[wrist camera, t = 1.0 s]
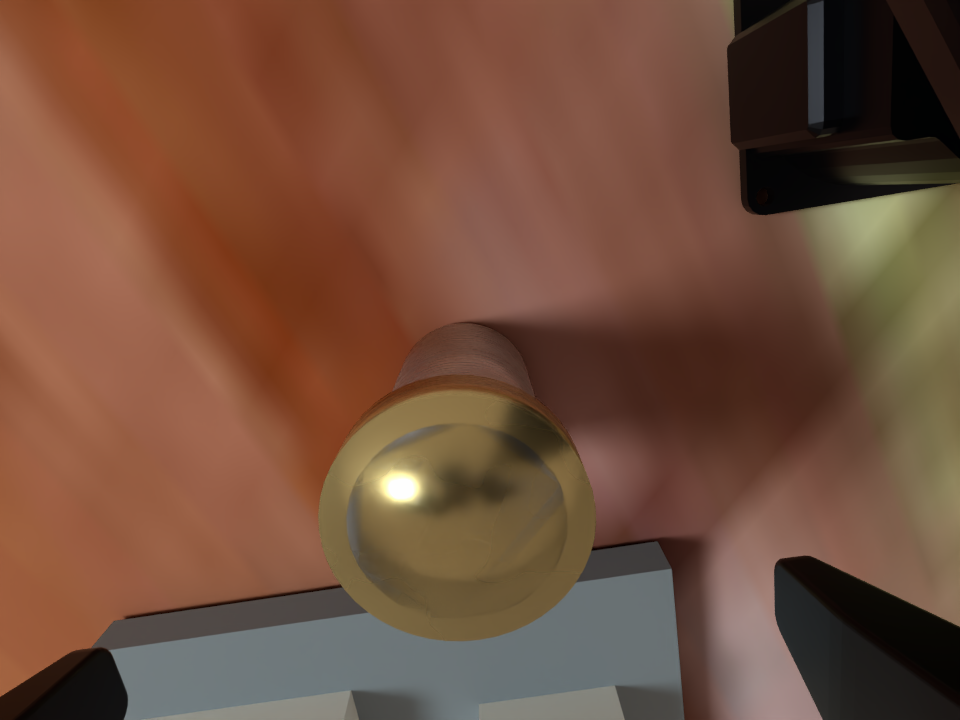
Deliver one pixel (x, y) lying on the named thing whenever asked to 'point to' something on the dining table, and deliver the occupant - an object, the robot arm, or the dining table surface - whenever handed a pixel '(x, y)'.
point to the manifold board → (413, 658)
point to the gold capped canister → (458, 495)
